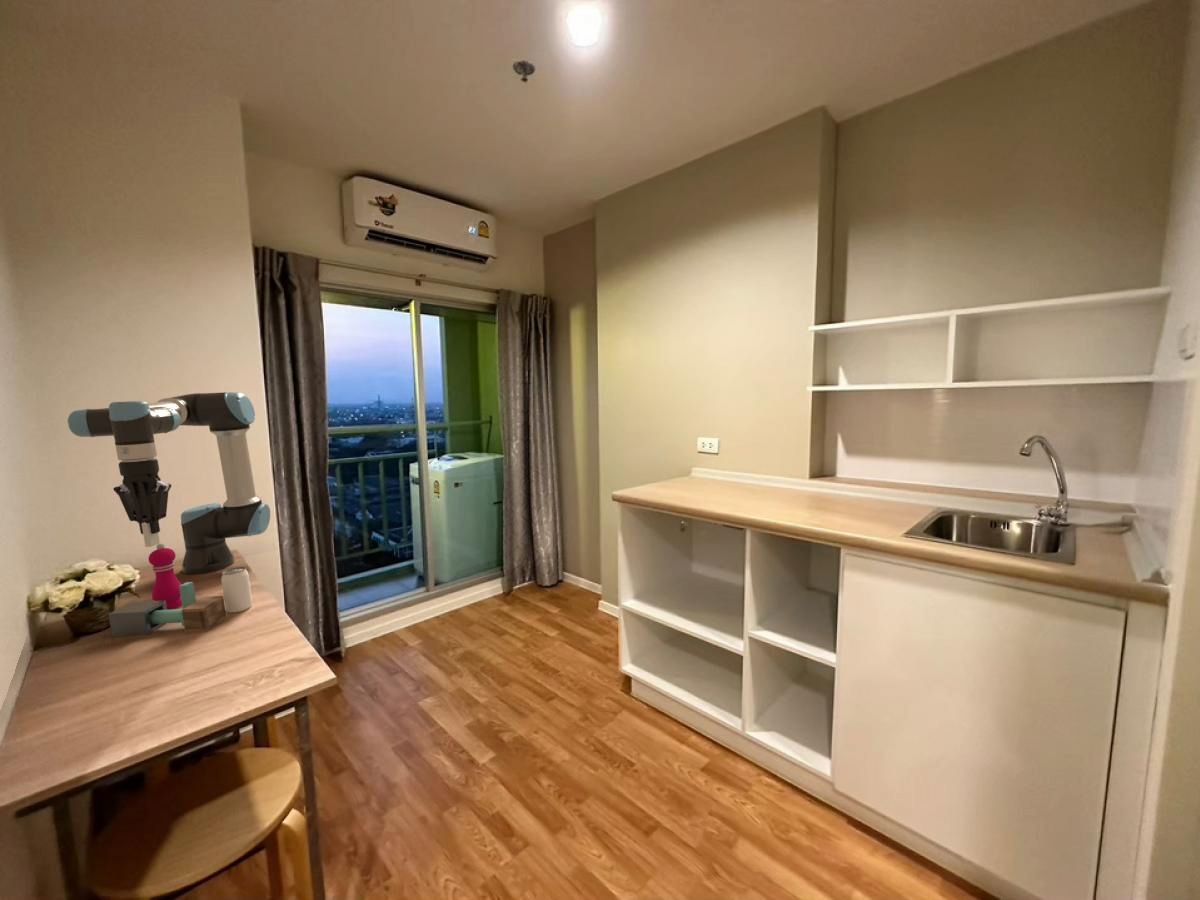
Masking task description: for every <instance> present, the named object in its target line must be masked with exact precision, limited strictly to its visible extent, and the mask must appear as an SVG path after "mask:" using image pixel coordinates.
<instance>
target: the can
mask: <svg viewBox="0 0 1200 900" xmlns="http://www.w3.org/2000/svg"><path fill="white" fill-rule="evenodd" d="M221 574H222V576H221V578H220V581H221V588H222V596H223V597H224V604H225V611H226V612H227V613H228V614H234V613H235V614H236V612H237V613H240V612H244V611H246V610H248V609H250V608H251V607H252V606H253V597H252V591H251V590H252V588H251V585H250V584H251V583H250V575H249V572H248V570H247V568H246V566H237V567H232V568H228V569H226V570H223V571H222V573H221Z"/></svg>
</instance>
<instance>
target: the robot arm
mask: <svg viewBox="0 0 1200 900" xmlns="http://www.w3.org/2000/svg"><path fill="white" fill-rule="evenodd" d="M255 412H256V411H255V407H254V406H253V403H252V401H251V399H250V398H249V397H248V396H247V395H246V394H244V393H242V392H232V391H227V392H226V391H225V392H206V393H205V392H203V393H197V392H196V393H195V392H194V393H189V394H183V395H177V396H172V397H164V398H162V399H159V400H158V401H156V402H149V403H148V402H147V401H145V400H133V401H132V400H131V401H130V400H129V401H128V400H127V401H126V400H125V401H112V402H110V403H109V405H108V407H105V408H94V409H93V408H90V409H89V408H85V409H77V410H73V411H72V412H70V414H69V416H67V417H68V418H67V424H68V428H69V431H70V432H71V433H72V434H73V435H75V436H77V437H81V438H94V437H96V438H97V437H108V436H109V437H110V436H113V438H114V445H115V451H116V456H117V460H118V461H119V463H118V469H119V474H120V476H122V477H123V479H122V480H121V481H122V483H121V484H120V485H118V486H114V487H113V491H114V492H115V494H116V495H118V497H119V499H120V502H121V504H122V506H123V509H124V510H125V513H126V515H127V516H128V519H129V521H130V522H137V523H138V525H139V531H140V534H141V535H142V536H143V541H144V546H145V548H148V547H149V548H150V547H155V546H157V545H158V544H161V542H160V536H159V533H160V532H161V527H160V522H159V521H161V519H164V518H166V517H167V513H168V512H167V510H168V500H169V492H170V489H171V488H172V484H171V483H165V482H163V481H162V479H161V477H160V476H159V472H160V465H159V460H158V459H157V458H156V457H158V453H157V449H156V447H157V446H156V443H155V442H156V441H155V438H154V435H158V434H167V433H170V432H174V431H175V430H177V429H179V427H180V426H186V427H187V426H190V427H206V426H207V427H209V432H210V433H212V434H214V435H215V437H216V442H217V448H218V453H219V460H220V466H221V470H222V475H223V482H224V488H225V494H226V500H225V501H224V502H223V504H222V505H221V503H219V502H218V503H217V502H214V503H208V504H203V505H199V506H196V507H195V506H194V507H192V508H189V509H187V510H184V511H183V512H182V513H181V514H180V526H181V529H182V531H181V532H182V536H183V543H184V548H185V553H184V556H183V559H182V565H181V569H182V573H183V574H184V575H185V574H186V575H199V574H207V573H210V572H214V571H218V570H222V569H224V568H227V567H230V566H232V565H233V564H234V563H235V556H234V554H233V553H232V551H231V549H230V548H229V546H228V544H227V541H226V539H230V538H231V539H232V538H242V537H252V536H258V535H262V534H263V533H264V532H266V530H267V529H268V527H269V525H270V519H271V508H270V506H269V505H268V504H267V503H263V502H262V497H260V496H259V495H257V494H256V489H255V483H254V482H255V481H254V476H253V471H252V464H251V459H250V457H251V456H250V451H249V446H248V440H247V439H248V438H247V432H248V431H249V430H250V429H251V426H250V425H251V424H252V425H253V423H254V422H255V419H256V418H255V417H256V413H255Z"/></svg>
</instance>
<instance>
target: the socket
mask: <svg viewBox="0 0 1200 900" xmlns="http://www.w3.org/2000/svg"><path fill="white" fill-rule="evenodd" d="M181 609H182V615H183V621H184V626H183V627H184V633H185V634H193V633H196V634H197V633H207V632H208V631H210V630H212V629H213V628H214V626H215V627H216V626H217V625H219V624H220V623H222V622H224V621H225V620H226V619H227V613H226V612H227V611H226V608H225V602H224V595H219V596H218V595H217V596H216V595H214V596H203V597H201V598H199V599H196V602H194V603H192V604H190V605H189V606H187V607H185V608H183V607H182V608H181ZM221 621H222V622H221Z"/></svg>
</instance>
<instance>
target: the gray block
mask: <svg viewBox="0 0 1200 900" xmlns="http://www.w3.org/2000/svg"><path fill="white" fill-rule="evenodd" d="M155 610H167V606H166V600H160V601H154V600H147V601H145V600H143V601H132V602H128V603H127V604H125V605H124V606H121V607H119V608H117V609H115V610H113V611H111V612H109V613H108V619H109V625H110V630H111V631H110V632H111V636H112V637H113V638H116V637H117V638H119V637H131V636H133V637H134V636H148V635H150V634H152V633H153V632H155V631H156V630H159V629H160V628H162V627H163V626H165V625H167V624H168V623H164V624H150V621H149V615H148V612H150V611H155Z"/></svg>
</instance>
